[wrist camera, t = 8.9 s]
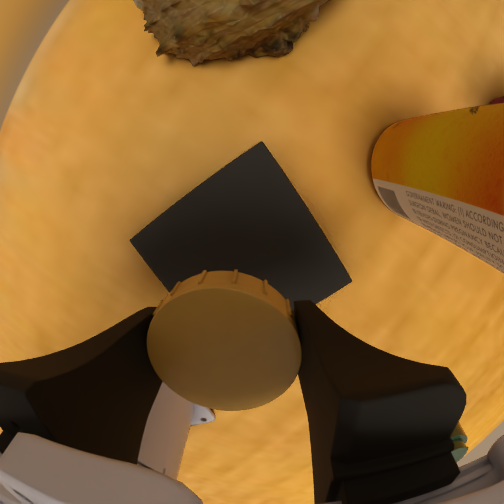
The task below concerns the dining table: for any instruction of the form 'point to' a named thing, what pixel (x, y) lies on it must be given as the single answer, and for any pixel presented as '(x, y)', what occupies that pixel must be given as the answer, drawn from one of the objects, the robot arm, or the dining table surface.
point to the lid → (225, 341)
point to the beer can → (448, 176)
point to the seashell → (227, 26)
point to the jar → (459, 442)
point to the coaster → (245, 233)
